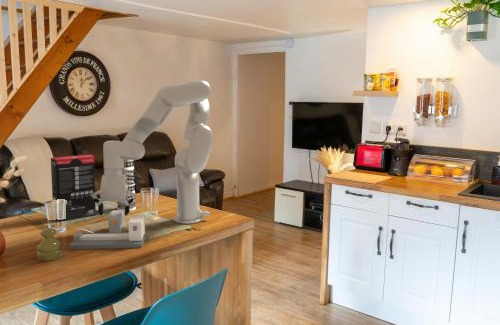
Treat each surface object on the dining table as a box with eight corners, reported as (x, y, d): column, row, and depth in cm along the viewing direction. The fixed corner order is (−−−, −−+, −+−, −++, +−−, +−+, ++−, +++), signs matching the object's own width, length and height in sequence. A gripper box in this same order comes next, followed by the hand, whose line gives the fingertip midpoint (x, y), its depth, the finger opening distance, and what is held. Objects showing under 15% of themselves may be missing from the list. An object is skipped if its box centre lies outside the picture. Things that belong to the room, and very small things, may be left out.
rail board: (146, 235, 164) (146, 213, 163) (141, 247, 151) (140, 223, 150) (80, 237, 162) (78, 215, 160) (69, 249, 149) (67, 225, 147)
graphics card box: (91, 211, 197) (88, 153, 192) (97, 214, 192) (94, 155, 187) (52, 219, 185) (48, 157, 180) (58, 222, 180) (54, 159, 176)
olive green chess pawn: (59, 260, 139) (57, 231, 137) (34, 262, 137) (32, 232, 136) (64, 252, 146) (62, 224, 144) (40, 254, 144) (38, 225, 143)
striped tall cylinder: (140, 207, 205) (139, 156, 201) (128, 212, 196) (126, 158, 192) (125, 205, 208) (123, 155, 204) (112, 210, 199) (110, 157, 195)
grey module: (124, 226, 175) (123, 210, 174) (120, 233, 166) (119, 216, 165) (113, 227, 174) (112, 210, 173) (108, 233, 166) (107, 216, 165)
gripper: (137, 171, 171) (137, 212, 174) (93, 170, 170) (94, 211, 172) (134, 174, 164) (134, 217, 166) (88, 173, 162) (89, 216, 165)
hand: (114, 214), depth 169 cm, fingers open, 9 cm apart
